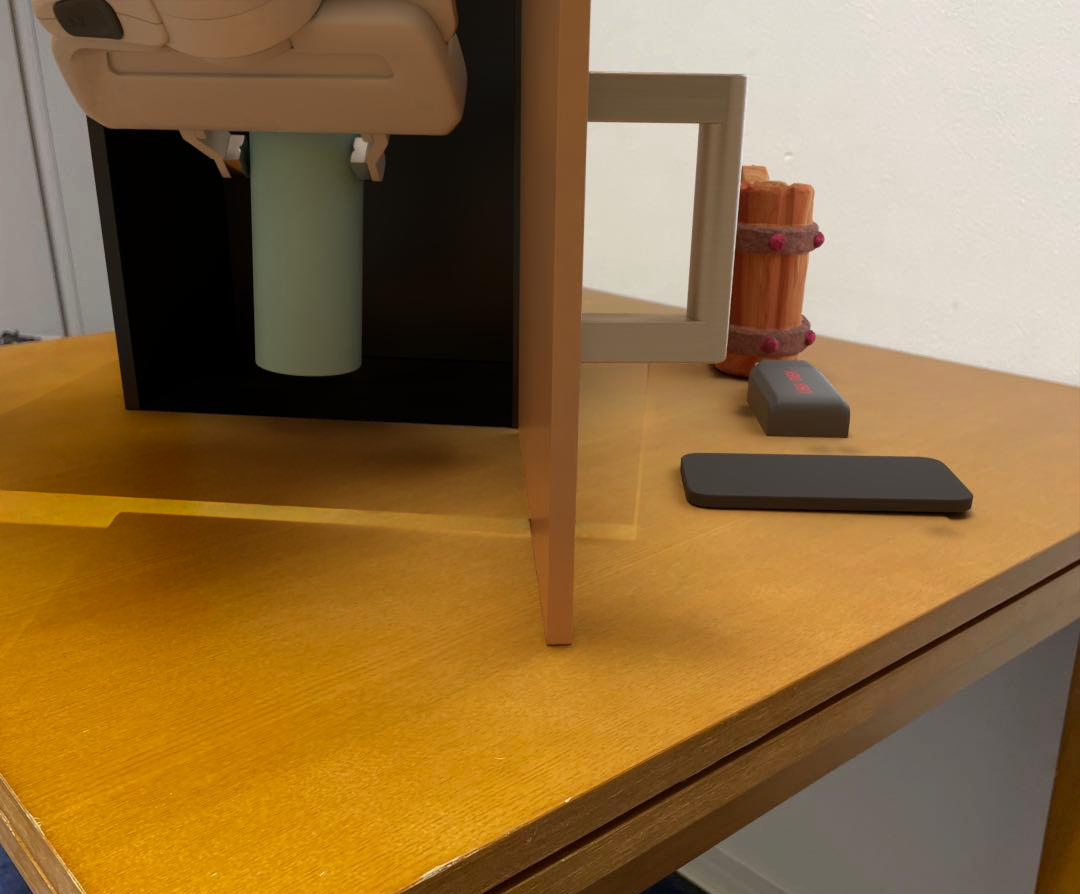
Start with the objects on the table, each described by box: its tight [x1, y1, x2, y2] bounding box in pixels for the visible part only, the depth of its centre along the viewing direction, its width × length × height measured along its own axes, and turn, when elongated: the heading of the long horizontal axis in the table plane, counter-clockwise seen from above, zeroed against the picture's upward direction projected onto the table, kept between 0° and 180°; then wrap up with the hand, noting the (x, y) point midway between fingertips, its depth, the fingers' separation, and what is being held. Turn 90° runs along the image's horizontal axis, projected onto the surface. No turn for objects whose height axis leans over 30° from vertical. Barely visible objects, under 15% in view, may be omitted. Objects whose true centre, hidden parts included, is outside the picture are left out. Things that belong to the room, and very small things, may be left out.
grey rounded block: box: [746, 359, 851, 439], centre depth 75 cm, size 5×12×3 cm, turn 178°
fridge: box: [85, 0, 522, 430], centre depth 71 cm, size 18×26×32 cm
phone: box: [679, 452, 974, 513], centre depth 60 cm, size 7×1×15 cm
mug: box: [713, 164, 825, 379], centre depth 86 cm, size 15×8×15 cm, turn 0°
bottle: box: [249, 131, 364, 376], centre depth 64 cm, size 6×6×20 cm
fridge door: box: [517, 0, 750, 645], centre depth 49 cm, size 7×26×32 cm, turn 4°
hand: (304, 170), depth 63 cm, fingers closed on bottle, 6 cm apart
